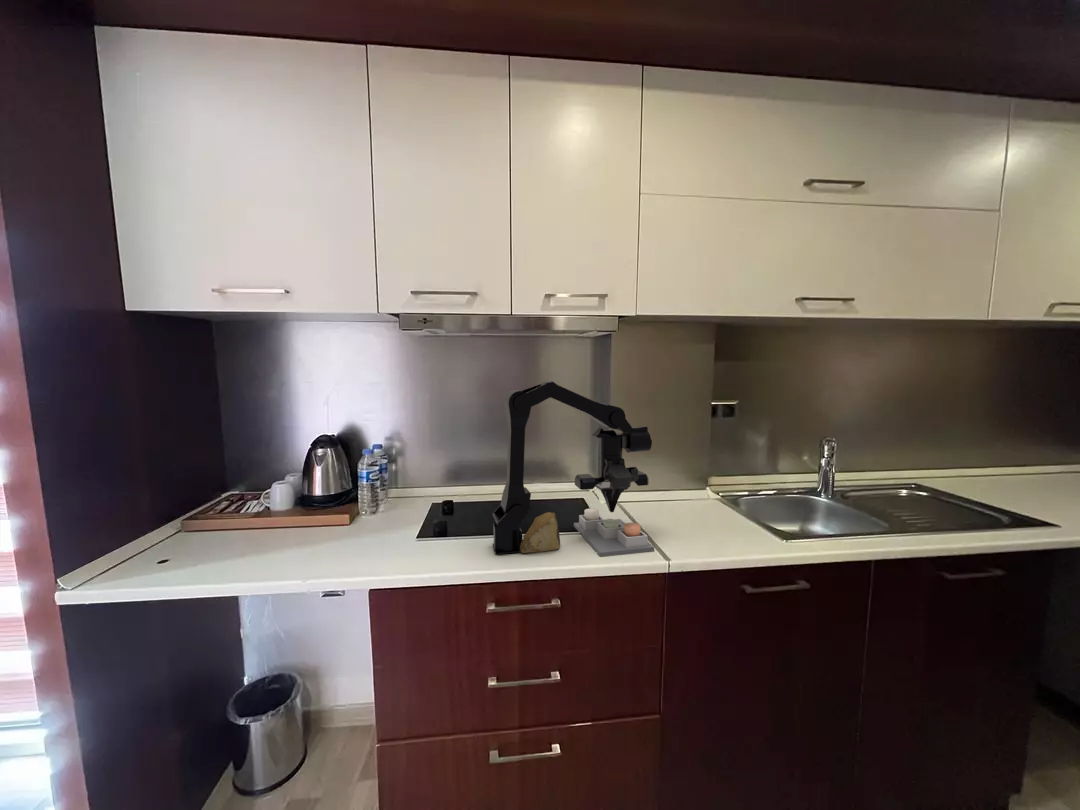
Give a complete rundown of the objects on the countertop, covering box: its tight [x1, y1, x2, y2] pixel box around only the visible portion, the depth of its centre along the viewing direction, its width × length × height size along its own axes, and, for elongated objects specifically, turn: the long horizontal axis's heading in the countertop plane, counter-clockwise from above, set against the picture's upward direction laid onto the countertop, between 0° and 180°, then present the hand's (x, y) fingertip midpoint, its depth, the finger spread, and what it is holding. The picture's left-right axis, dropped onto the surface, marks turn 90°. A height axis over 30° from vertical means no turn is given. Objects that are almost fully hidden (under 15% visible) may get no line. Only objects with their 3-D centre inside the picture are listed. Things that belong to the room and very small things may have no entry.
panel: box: [573, 514, 655, 558], centre depth 121 cm, size 14×22×4 cm, turn 12°
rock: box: [519, 511, 561, 554], centre depth 114 cm, size 11×9×10 cm
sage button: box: [603, 518, 619, 529], centre depth 120 cm, size 4×4×3 cm
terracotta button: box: [624, 522, 642, 537], centre depth 114 cm, size 4×4×3 cm
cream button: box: [583, 507, 600, 521], centre depth 127 cm, size 4×4×3 cm
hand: (611, 511), depth 120 cm, fingers closed
